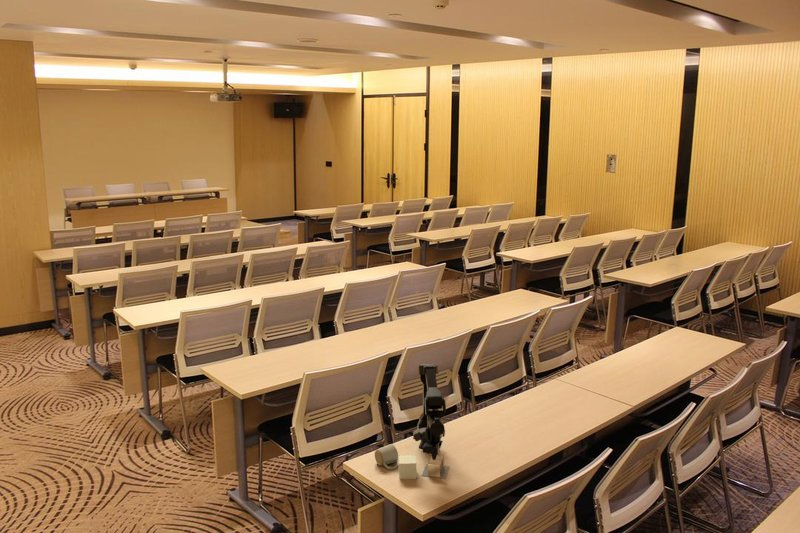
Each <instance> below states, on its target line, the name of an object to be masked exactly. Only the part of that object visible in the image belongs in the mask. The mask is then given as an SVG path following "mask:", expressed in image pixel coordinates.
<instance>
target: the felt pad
mask: <svg viewBox="0 0 800 533" xmlns="http://www.w3.org/2000/svg"><path fill="white" fill-rule="evenodd" d="M449 469H450V466H448V465H443V469H442V472H441V475H440V477H435V476H428V463H426V464H425V466H424V470H423V471H422V474H421V476H422V477H426V478H428V477H429V478H437V479H444V480H445V479H446V478H447V475H448V473H449Z"/></svg>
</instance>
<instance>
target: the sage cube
mask: <svg viewBox="0 0 800 533" xmlns="http://www.w3.org/2000/svg"><path fill="white" fill-rule="evenodd" d="M398 477H399V480H407V479H408V480H410V479H412V480H415V479H417V457H416V454H411V455H410V454H408V455H407V454H406V455H403V454H402V455H399V454H398Z"/></svg>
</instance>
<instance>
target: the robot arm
mask: <svg viewBox="0 0 800 533" xmlns="http://www.w3.org/2000/svg"><path fill="white" fill-rule="evenodd" d="M438 366H439V365H435V363H420V364H419V365H418V366H417V375H418V376H419V380H420V381H421V383H422V412H421V414H420V416H419V420H418V421H417V427H416V429H415V430H414V431H413V434H412V436H413V438H412V439H413V440H414V441H415V442H419V441H420V443H419V445H418V449H422V453H423V454H428V455H430V457H431V456H432V459H433V460H435V459H436V457H437V455H439V452H440V449H441V447H442V444H443V440H442V438H445V435H446V430H445V425H444V421H443V419H442V416H446V412H447V407H446V406H447V404H446V400H445V397H443V394H442V391H440V390H439V388H438V383H437V375H439V367H438Z"/></svg>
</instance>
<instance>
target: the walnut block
mask: <svg viewBox="0 0 800 533" xmlns="http://www.w3.org/2000/svg"><path fill="white" fill-rule="evenodd" d="M444 463H445V462H444V455H440V454H438V455H437V457H436V459H435V460H433V459H432V456H431V455H430V458H429V460H428V463H427V464H428V476H435V477H440V475H441V472H442V469H443V466H444ZM435 477H434V478H435Z"/></svg>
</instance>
